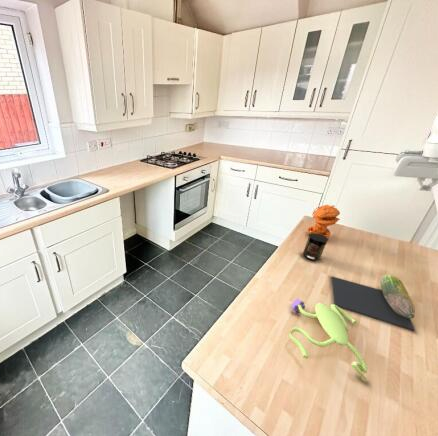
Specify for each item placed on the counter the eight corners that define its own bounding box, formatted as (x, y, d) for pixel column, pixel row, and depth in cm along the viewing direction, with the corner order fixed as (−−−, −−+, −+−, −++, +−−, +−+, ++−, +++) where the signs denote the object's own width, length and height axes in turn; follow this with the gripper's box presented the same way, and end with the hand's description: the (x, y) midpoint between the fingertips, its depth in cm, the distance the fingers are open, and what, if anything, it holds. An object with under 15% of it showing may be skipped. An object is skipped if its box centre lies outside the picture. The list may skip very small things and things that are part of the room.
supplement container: (320, 255, 107) (328, 236, 102) (319, 264, 102) (328, 243, 97) (302, 250, 111) (309, 231, 106) (301, 258, 106) (308, 238, 101)
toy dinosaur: (326, 246, 113) (340, 212, 105) (301, 236, 121) (312, 204, 112) (334, 237, 120) (348, 205, 111) (310, 229, 127) (321, 197, 118)
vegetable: (404, 281, 87) (429, 323, 72) (383, 287, 91) (403, 329, 76) (392, 269, 87) (414, 309, 72) (372, 276, 91) (390, 315, 76)
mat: (399, 296, 86) (400, 295, 86) (413, 331, 74) (414, 330, 74) (331, 277, 95) (332, 276, 95) (334, 305, 83) (335, 304, 83)
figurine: (284, 358, 67) (289, 345, 65) (289, 294, 88) (293, 283, 85) (368, 394, 59) (378, 382, 57) (352, 315, 79) (359, 303, 77)
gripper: (401, 151, 86) (387, 188, 91) (491, 154, 76) (469, 196, 81) (397, 149, 91) (383, 184, 96) (480, 151, 81) (460, 191, 86)
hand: (423, 190), depth 89 cm, fingers closed
